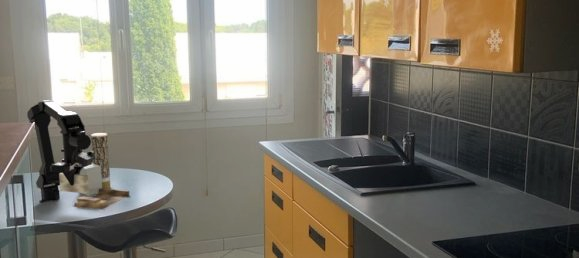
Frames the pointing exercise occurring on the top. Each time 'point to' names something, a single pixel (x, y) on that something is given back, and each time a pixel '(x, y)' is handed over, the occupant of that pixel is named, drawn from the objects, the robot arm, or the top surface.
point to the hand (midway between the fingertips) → (73, 184)
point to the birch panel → (78, 186)
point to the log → (101, 156)
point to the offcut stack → (91, 202)
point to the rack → (110, 196)
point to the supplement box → (93, 178)
